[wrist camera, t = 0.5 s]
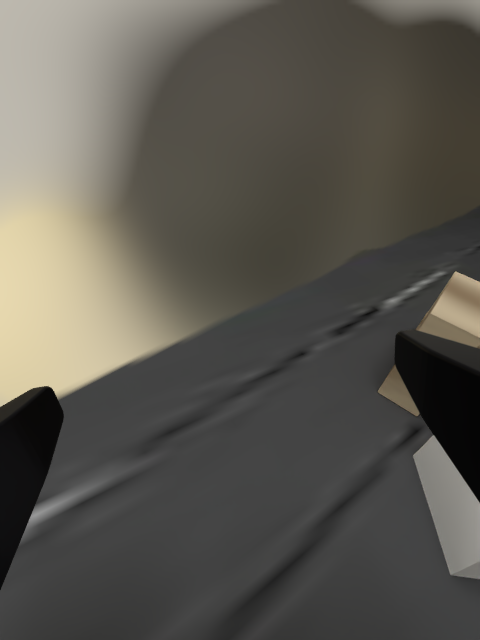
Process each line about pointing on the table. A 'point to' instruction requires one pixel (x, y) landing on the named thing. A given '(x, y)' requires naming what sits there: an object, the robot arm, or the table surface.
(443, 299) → the wooden rack
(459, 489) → the grey faceted lump
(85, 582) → the table surface
